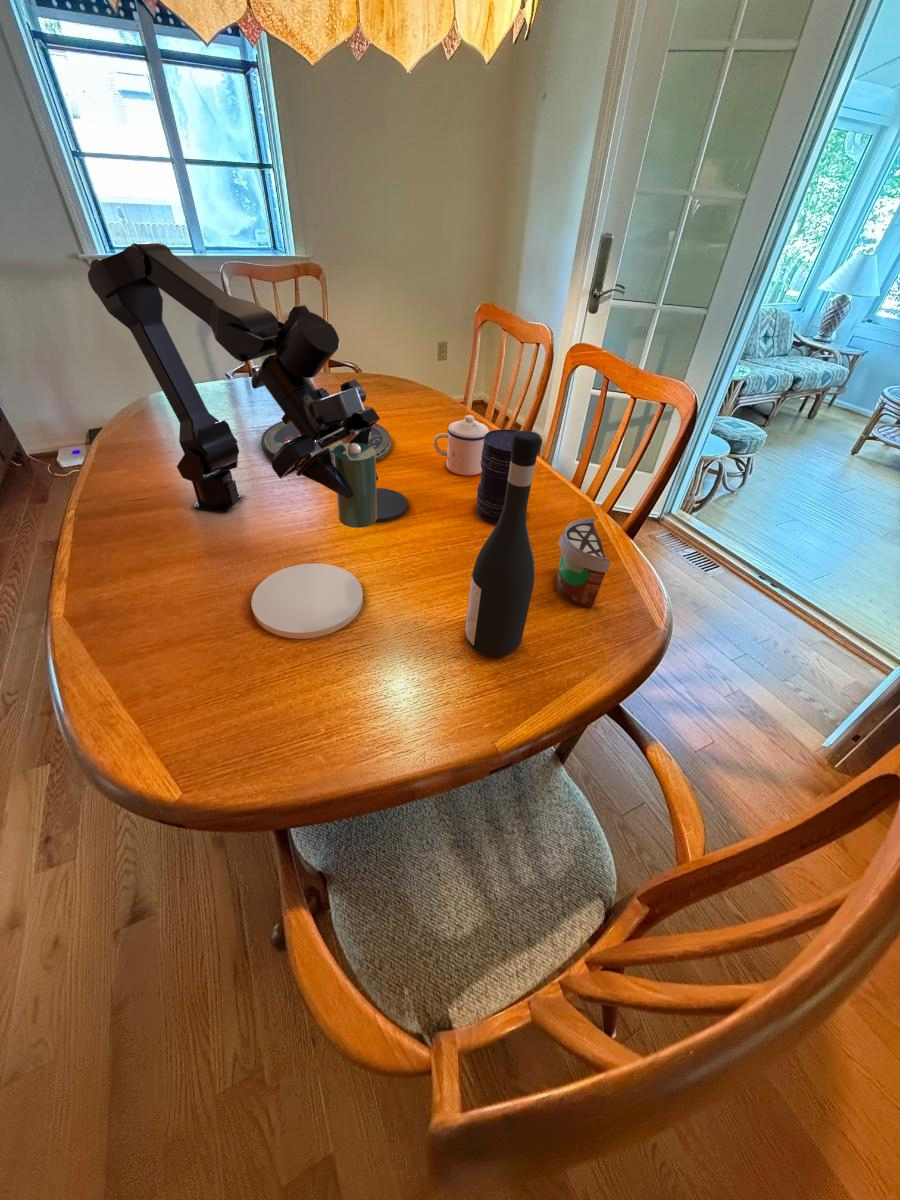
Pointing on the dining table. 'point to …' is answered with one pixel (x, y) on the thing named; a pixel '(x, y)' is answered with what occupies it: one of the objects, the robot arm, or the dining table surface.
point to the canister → (357, 484)
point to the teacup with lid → (464, 446)
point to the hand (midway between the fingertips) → (363, 489)
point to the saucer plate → (307, 600)
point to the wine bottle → (505, 563)
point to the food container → (581, 563)
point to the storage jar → (494, 474)
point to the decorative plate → (287, 432)
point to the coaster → (390, 505)
